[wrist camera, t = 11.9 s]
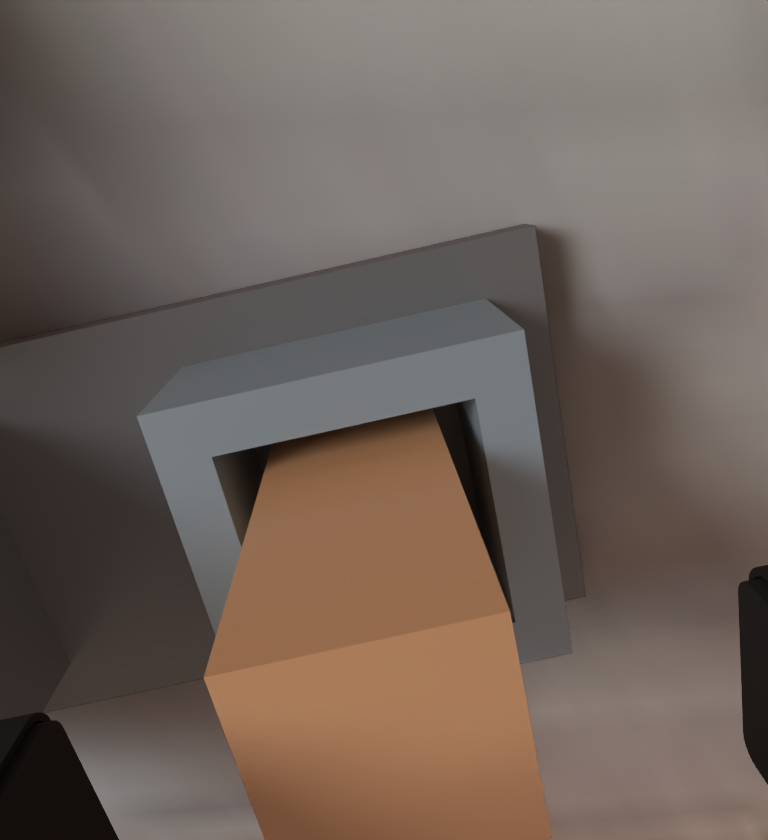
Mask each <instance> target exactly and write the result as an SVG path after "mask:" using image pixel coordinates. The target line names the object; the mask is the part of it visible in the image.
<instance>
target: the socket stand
mask: <svg viewBox="0 0 768 840" xmlns="http://www.w3.org/2000/svg"><path fill="white" fill-rule="evenodd" d="M430 408H432V409H433V411H434V414H435V417H436V419H437V422H438V424H439V427H440V430H441V432H442V435H443V437H444V440H445V443H446V445H447V448H448V450H449V453H450V456H451V458H452V461H453V464H454V466H455V469H456V471H457V474H458V477H459V479H460V482H461V484H462V487H463V490H464V492H465V495H466V498H467V500H468V503H469V505H470V508H471V511H472V513H473V516H474V518H475V521H476V524H477V526H478V529H479V531H480V534H481V537H482V539H483V542H484V545H485V547H486V550H487V552H488V555H489V558H490V560H491V563H492V565H493V568H494V571H495V573H496V576H497V578H498V581H499V584H500V586H501V589H502V592H503V594H504V597H505V599H506V602H507V605H508V607H509V610H510V614H511V619H512V624H513V630H514V635H515V641H516V646H517V651H518V657H519V662H520V664H523V663H528V662H532V661H537V660H542V659H546V658H551V657H556V656H560V655H565V654H570V653H572V647H571V640H570V634H569V627H568V620H567V613H566V607H565V601H567V600H572V599H576V598H581V597H586V595H585V588H584V581H583V573H582V566H581V559H580V551H579V544H578V537H577V529H576V522H575V515H574V507H573V500H572V493H571V485H570V478H569V471H568V463H567V456H566V449H565V442H564V434H563V427H562V420H561V412H560V405H559V398H558V390H557V383H556V376H555V368H554V361H553V354H552V346H551V339H550V332H549V325H548V317H547V310H546V303H545V295H544V288H543V281H542V273H541V266H540V259H539V251H538V244H537V237H536V229H535V226H533V225H528V224H522V225H518V226H513V227H509V228H504V229H500V230H496V231H491V232H487V233H482V234H478V235H474V236H469V237H465V238H460V239H456V240H452V241H447V242H443V243H438V244H434V245H430V246H425V247H421V248H416V249H412V250H408V251H403V252H399V253H395V254H390V255H386V256H381V257H377V258H373V259H368V260H364V261H359V262H355V263H351V264H346V265H342V266H337V267H333V268H329V269H324V270H320V271H315V272H311V273H307V274H302V275H298V276H293V277H289V278H285V279H280V280H276V281H271V282H267V283H263V284H258V285H254V286H250V287H245V288H241V289H236V290H232V291H228V292H223V293H219V294H214V295H210V296H206V297H201V298H197V299H192V300H188V301H184V302H179V303H175V304H170V305H166V306H162V307H157V308H153V309H148V310H144V311H140V312H135V313H131V314H126V315H122V316H118V317H113V318H109V319H104V320H100V321H96V322H91V323H87V324H83V325H78V326H74V327H69V328H65V329H61V330H56V331H52V332H47V333H43V334H39V335H34V336H30V337H25V338H21V339H17V340H12V341H8V342H3V343H0V720H2V719H7V718H12V717H17V716H22V715H27V714H32V713H37V712H43V713H45V712H50V711H55V710H59V709H64V708H68V707H73V706H78V705H82V704H87V703H92V702H96V701H101V700H106V699H110V698H115V697H120V696H124V695H129V694H134V693H138V692H143V691H148V690H152V689H157V688H162V687H166V686H171V685H176V684H180V683H185V682H190V681H194V680H199V679H204V674H205V671H206V668H207V664H208V661H209V657H210V654H211V651H212V647H213V644H214V640H215V637H216V634H217V630H218V627H219V623H220V620H221V617H222V613H223V610H224V606H225V603H226V600H227V596H228V593H229V589H230V586H231V583H232V579H233V576H234V572H235V569H236V566H237V562H238V559H239V555H240V552H241V549H242V545H243V542H244V538H245V535H246V532H247V528H248V525H249V521H250V518H251V515H252V511H253V508H254V504H255V501H256V498H257V494H258V491H259V487H260V484H261V481H262V477H263V474H264V470H265V467H266V464H267V460H268V457H269V453H270V450H271V447H272V444H273V443H277V442H282V441H286V440H291V439H295V438H300V437H304V436H309V435H313V434H318V433H322V432H327V431H331V430H336V429H340V428H345V427H349V426H354V425H358V424H363V423H367V422H372V421H376V420H381V419H385V418H390V417H394V416H399V415H403V414H408V413H412V412H417V411H421V410H426V409H430Z"/></svg>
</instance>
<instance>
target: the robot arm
mask: <svg viewBox="0 0 768 840" xmlns="http://www.w3.org/2000/svg"><path fill="white" fill-rule="evenodd" d="M738 598H739V626H740V654H741V682H742V709H743V734H744V740H745V744H746V747H747V750H748V753H749V755H750V757H751V759H752V761H753V763H754V764H755V766H756V768H757V769H758V771H759V772H760V774H761V775H762V777H763V778H764V780H765V781H766V783H767V784H768V565H765V566H760V567H755V568H753V569H752V570H751V572H750V574H749V581H744V582H741V583H740V585H739V589H738ZM0 840H119V839H118V837H117V835H116V833H115V831H114V829H113V827H112V825H111V823H110V821H109V819H108V817H107V815H106V813H105V811H104V809H103V807H102V805H101V803H100V801H99V799H98V797H97V795H96V792H95V790H94V788H93V786H92V784H91V782H90V780H89V778H88V776H87V774H86V772H85V770H84V768H83V766H82V764H81V762H80V760H79V758H78V756H77V754H76V752H75V750H74V748H73V746H72V744H71V742H70V740H69V738H68V736H67V734H66V732H65V730H64V728H63V726H62V725H61V723H59V722H58V721H51V720H50V718H49V717H48V715H46V714H44V713H43V712H37V713H32V714H27V715H22V716H17V717H12V718H7V719H2V720H0Z"/></svg>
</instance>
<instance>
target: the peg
mask: <svg viewBox="0 0 768 840" xmlns="http://www.w3.org/2000/svg"><path fill="white" fill-rule="evenodd" d="M204 680H205V683H206V686H207V688H208V691H209V694H210V696H211V699H212V702H213V704H214V707H215V709H216V712H217V715H218V717H219V720H220V723H221V725H222V728H223V731H224V733H225V736H226V738H227V741H228V744H229V746H230V749H231V752H232V754H233V757H234V760H235V762H236V765H237V767H238V770H239V773H240V775H241V778H242V781H243V783H244V786H245V789H246V791H247V794H248V796H249V799H250V802H251V804H252V807H253V810H254V812H255V815H256V818H257V820H258V823H259V825H260V828H261V831H262V833H263V836H264V839H265V840H546V839H551V838H552V835H551V830H550V824H549V819H548V814H547V808H546V803H545V797H544V792H543V787H542V781H541V776H540V770H539V765H538V760H537V754H536V749H535V743H534V738H533V732H532V727H531V722H530V716H529V711H528V705H527V700H526V695H525V689H524V684H523V678H522V673H521V668H520V662H519V657H518V651H517V646H516V641H515V635H514V630H513V624H512V619H511V614H510V610H509V607H508V605H507V602H506V599H505V597H504V594H503V592H502V589H501V586H500V584H499V581H498V578H497V576H496V573H495V571H494V568H493V565H492V563H491V560H490V558H489V555H488V552H487V550H486V547H485V545H484V542H483V539H482V537H481V534H480V531H479V529H478V526H477V524H476V521H475V518H474V516H473V513H472V511H471V508H470V505H469V503H468V500H467V498H466V495H465V492H464V490H463V487H462V484H461V482H460V479H459V477H458V474H457V471H456V469H455V466H454V464H453V461H452V458H451V456H450V453H449V450H448V448H447V445H446V443H445V440H444V437H443V435H442V432H441V430H440V427H439V424H438V422H437V419H436V417H435V414H434V411H433V409H432V408H430V409H426V410H421V411H417V412H412V413H408V414H403V415H399V416H394V417H390V418H385V419H381V420H376V421H372V422H367V423H363V424H358V425H354V426H349V427H345V428H340V429H336V430H331V431H327V432H322V433H318V434H313V435H309V436H304V437H300V438H295V439H291V440H286V441H282V442H277V443H273V444H272V447H271V450H270V453H269V457H268V460H267V464H266V467H265V470H264V474H263V477H262V481H261V484H260V487H259V491H258V494H257V498H256V501H255V504H254V508H253V511H252V515H251V518H250V521H249V525H248V528H247V532H246V535H245V538H244V542H243V545H242V549H241V552H240V555H239V559H238V562H237V566H236V569H235V572H234V576H233V579H232V583H231V586H230V589H229V593H228V596H227V600H226V603H225V606H224V610H223V613H222V617H221V620H220V623H219V627H218V630H217V634H216V637H215V640H214V644H213V647H212V651H211V654H210V657H209V661H208V664H207V668H206V671H205V674H204Z"/></svg>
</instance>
